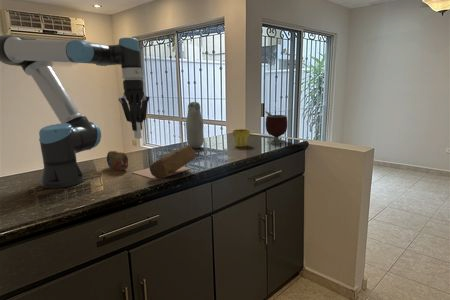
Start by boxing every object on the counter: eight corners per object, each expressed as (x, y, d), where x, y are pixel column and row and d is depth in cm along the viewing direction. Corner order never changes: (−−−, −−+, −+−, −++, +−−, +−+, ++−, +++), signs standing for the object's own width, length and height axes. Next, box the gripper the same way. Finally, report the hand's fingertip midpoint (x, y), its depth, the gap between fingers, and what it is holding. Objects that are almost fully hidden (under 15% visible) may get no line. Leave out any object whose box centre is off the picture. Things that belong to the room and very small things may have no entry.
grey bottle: (184, 149, 183) (181, 102, 177) (192, 146, 192) (190, 101, 186) (199, 150, 179) (196, 102, 173) (206, 146, 188) (204, 101, 182)
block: (170, 175, 119) (199, 156, 135) (161, 158, 118) (191, 141, 134) (153, 181, 125) (183, 163, 141) (145, 165, 124) (175, 149, 140)
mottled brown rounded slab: (107, 167, 145) (105, 150, 144) (113, 166, 148) (111, 149, 146) (124, 172, 136) (122, 154, 134) (130, 170, 138) (128, 152, 136)
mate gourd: (290, 141, 198) (291, 110, 194) (280, 144, 188) (281, 112, 184) (270, 139, 208) (270, 110, 204) (259, 142, 197) (259, 111, 193)
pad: (155, 179, 123) (155, 179, 123) (132, 172, 134) (132, 172, 134) (191, 168, 138) (191, 168, 138) (167, 163, 149) (167, 163, 149)
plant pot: (250, 147, 184) (250, 131, 182) (233, 147, 184) (232, 131, 182) (249, 143, 194) (248, 128, 192) (232, 144, 194) (232, 129, 192)
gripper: (122, 79, 112) (129, 141, 117) (152, 79, 122) (156, 136, 127) (112, 79, 117) (118, 139, 122) (141, 79, 127) (146, 135, 132)
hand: (138, 138), depth 124 cm, fingers closed
